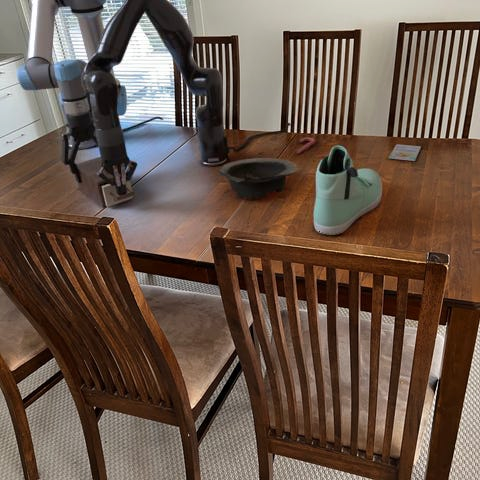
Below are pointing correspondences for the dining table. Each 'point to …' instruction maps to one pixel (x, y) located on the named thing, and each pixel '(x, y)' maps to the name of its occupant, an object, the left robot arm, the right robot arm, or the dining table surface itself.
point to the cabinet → (92, 179)
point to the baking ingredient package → (405, 152)
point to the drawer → (115, 194)
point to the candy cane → (306, 144)
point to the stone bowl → (257, 176)
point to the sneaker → (343, 192)
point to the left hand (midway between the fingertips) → (94, 176)
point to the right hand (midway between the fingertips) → (122, 195)
